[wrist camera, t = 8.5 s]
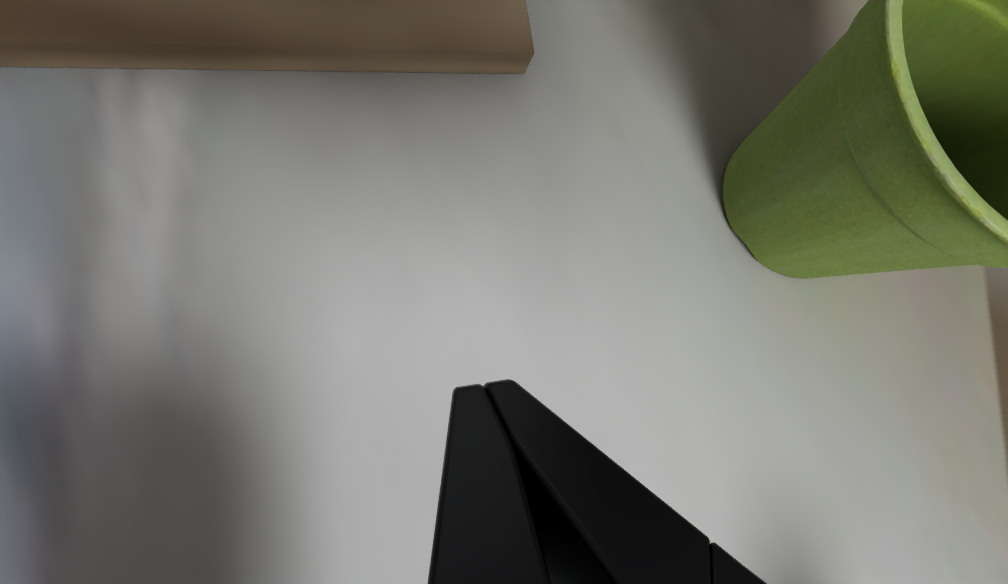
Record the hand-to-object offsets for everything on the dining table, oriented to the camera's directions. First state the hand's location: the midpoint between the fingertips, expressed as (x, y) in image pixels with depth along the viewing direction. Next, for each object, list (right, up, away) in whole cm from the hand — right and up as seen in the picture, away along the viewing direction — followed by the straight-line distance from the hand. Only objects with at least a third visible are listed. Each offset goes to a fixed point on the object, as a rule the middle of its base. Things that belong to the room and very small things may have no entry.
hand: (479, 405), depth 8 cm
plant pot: (+13, +6, +19) cm, 24 cm away
